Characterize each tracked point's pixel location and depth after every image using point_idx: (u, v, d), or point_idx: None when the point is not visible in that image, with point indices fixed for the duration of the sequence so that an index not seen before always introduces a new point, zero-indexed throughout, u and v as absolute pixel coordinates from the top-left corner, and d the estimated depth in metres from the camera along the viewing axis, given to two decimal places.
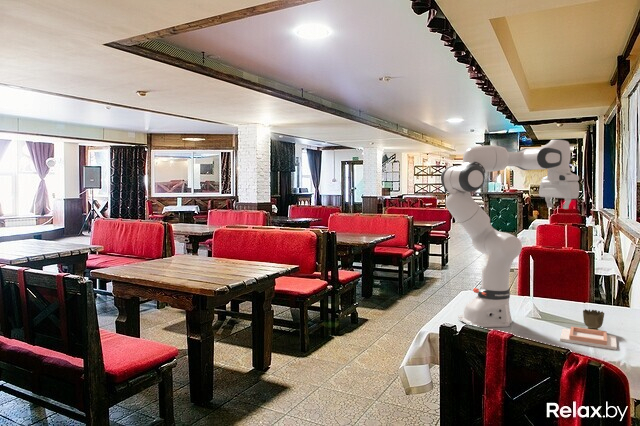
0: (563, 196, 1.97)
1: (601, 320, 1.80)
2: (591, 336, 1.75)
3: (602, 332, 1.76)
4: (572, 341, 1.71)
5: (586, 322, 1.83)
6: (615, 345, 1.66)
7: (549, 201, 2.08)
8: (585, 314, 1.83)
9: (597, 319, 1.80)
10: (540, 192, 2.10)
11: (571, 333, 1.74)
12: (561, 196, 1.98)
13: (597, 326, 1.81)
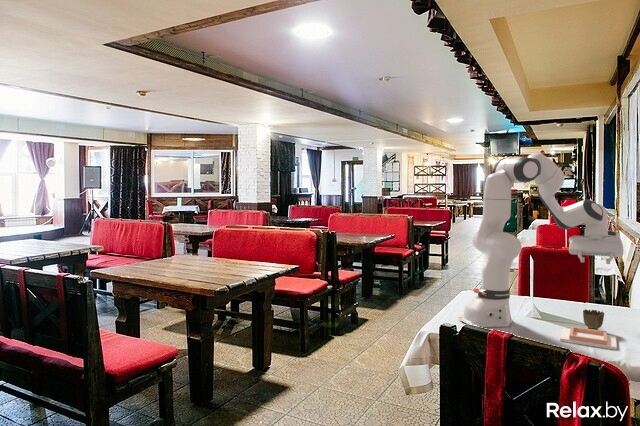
0: (610, 250, 1.94)
1: (601, 320, 1.80)
2: (591, 336, 1.75)
3: (602, 332, 1.76)
4: (572, 341, 1.71)
5: (586, 322, 1.83)
6: (615, 345, 1.66)
7: None
8: (585, 314, 1.83)
9: (597, 319, 1.80)
10: (572, 246, 2.02)
11: (571, 333, 1.74)
12: (606, 250, 1.94)
13: (597, 326, 1.81)
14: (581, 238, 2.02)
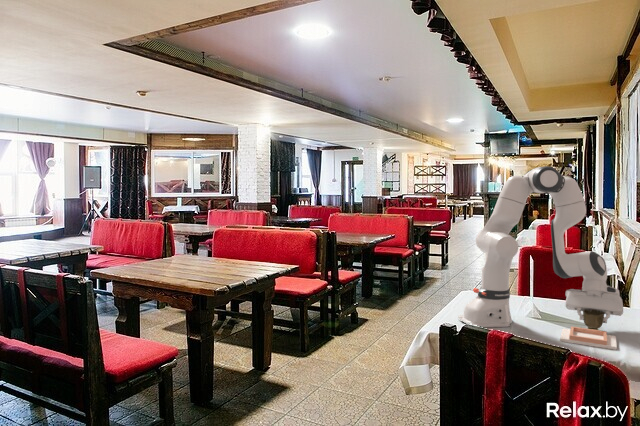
0: (609, 308, 1.82)
1: (601, 320, 1.80)
2: (591, 336, 1.75)
3: (602, 332, 1.76)
4: (572, 341, 1.71)
5: (586, 322, 1.83)
6: (615, 345, 1.66)
7: None
8: (585, 314, 1.83)
9: (597, 319, 1.80)
10: (569, 301, 1.90)
11: (571, 333, 1.74)
12: (605, 308, 1.83)
13: (597, 326, 1.81)
14: (578, 293, 1.91)
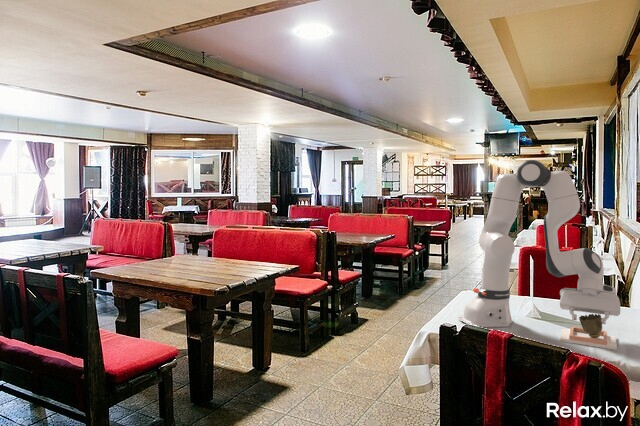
0: (605, 308, 1.72)
1: (599, 323, 1.70)
2: None
3: (602, 332, 1.76)
4: (572, 341, 1.71)
5: (585, 329, 1.73)
6: (615, 345, 1.66)
7: None
8: (581, 321, 1.73)
9: (595, 323, 1.70)
10: (563, 300, 1.80)
11: (571, 333, 1.74)
12: (601, 308, 1.73)
13: (597, 331, 1.70)
14: (573, 292, 1.81)
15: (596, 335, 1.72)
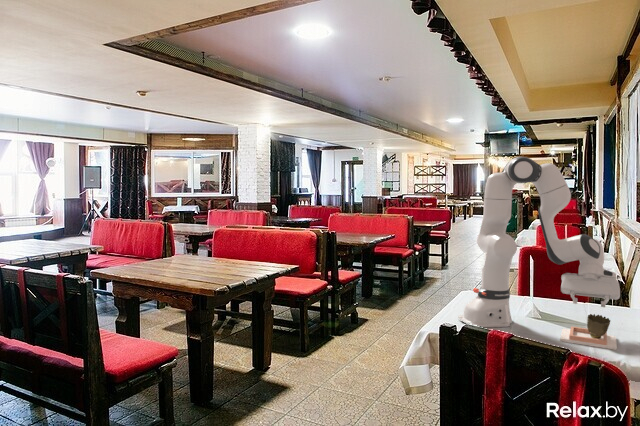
0: (605, 292, 1.77)
1: (606, 328, 1.69)
2: None
3: None
4: (572, 341, 1.71)
5: (590, 328, 1.71)
6: (615, 345, 1.66)
7: None
8: (590, 320, 1.71)
9: (602, 327, 1.68)
10: (564, 285, 1.85)
11: (571, 333, 1.74)
12: (602, 291, 1.78)
13: (601, 334, 1.70)
14: (574, 276, 1.86)
15: (598, 337, 1.71)
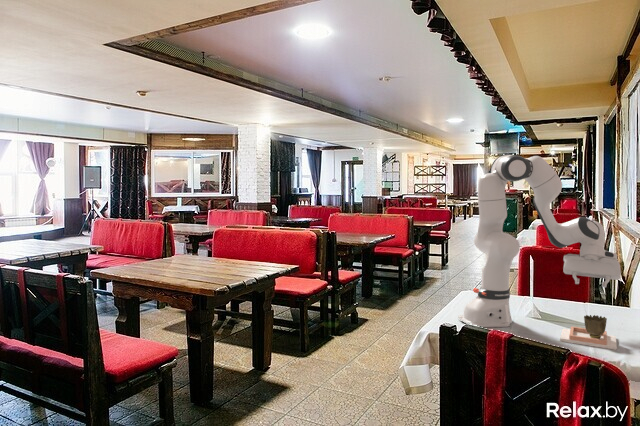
0: (606, 272, 1.83)
1: (604, 326, 1.70)
2: None
3: None
4: (572, 341, 1.71)
5: (588, 328, 1.72)
6: (615, 345, 1.66)
7: None
8: (587, 320, 1.72)
9: (599, 325, 1.69)
10: (567, 265, 1.90)
11: (571, 333, 1.74)
12: (603, 272, 1.83)
13: (600, 332, 1.70)
14: (576, 257, 1.91)
15: (597, 336, 1.71)
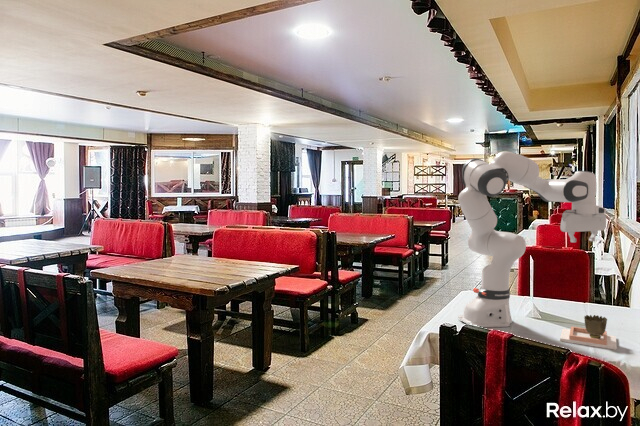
0: (596, 229, 1.94)
1: (604, 326, 1.70)
2: None
3: None
4: (572, 341, 1.71)
5: (588, 329, 1.72)
6: (615, 345, 1.66)
7: None
8: (587, 320, 1.72)
9: (600, 325, 1.69)
10: (568, 227, 1.91)
11: (571, 333, 1.74)
12: (594, 229, 1.94)
13: (600, 333, 1.70)
14: (575, 216, 1.91)
15: (597, 337, 1.71)
